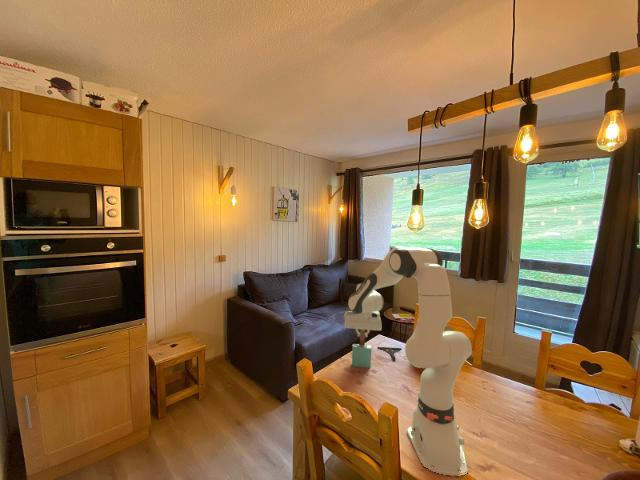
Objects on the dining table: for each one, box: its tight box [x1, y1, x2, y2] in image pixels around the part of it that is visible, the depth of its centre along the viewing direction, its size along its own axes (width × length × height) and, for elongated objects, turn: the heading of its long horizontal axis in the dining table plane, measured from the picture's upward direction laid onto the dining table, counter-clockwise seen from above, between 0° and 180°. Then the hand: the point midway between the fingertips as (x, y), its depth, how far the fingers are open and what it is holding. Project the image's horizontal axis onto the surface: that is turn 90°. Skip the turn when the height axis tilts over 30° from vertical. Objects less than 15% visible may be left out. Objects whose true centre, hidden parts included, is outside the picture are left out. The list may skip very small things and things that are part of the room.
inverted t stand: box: [357, 329, 372, 347], centre depth 145 cm, size 4×10×10 cm, turn 82°
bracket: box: [377, 346, 403, 362], centre depth 157 cm, size 14×15×3 cm
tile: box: [351, 343, 372, 369], centre depth 143 cm, size 2×10×12 cm, turn 81°
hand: (362, 336), depth 145 cm, fingers closed on inverted t stand, 2 cm apart
